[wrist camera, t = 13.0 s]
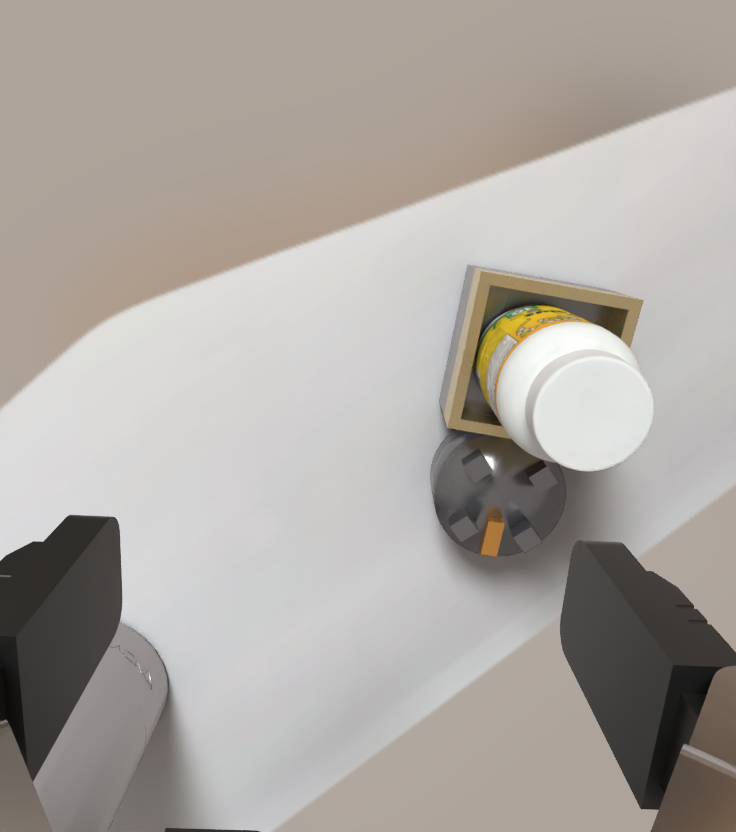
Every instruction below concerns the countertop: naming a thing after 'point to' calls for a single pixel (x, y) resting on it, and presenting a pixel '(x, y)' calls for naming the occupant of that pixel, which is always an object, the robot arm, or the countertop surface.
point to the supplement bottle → (564, 387)
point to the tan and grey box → (482, 431)
